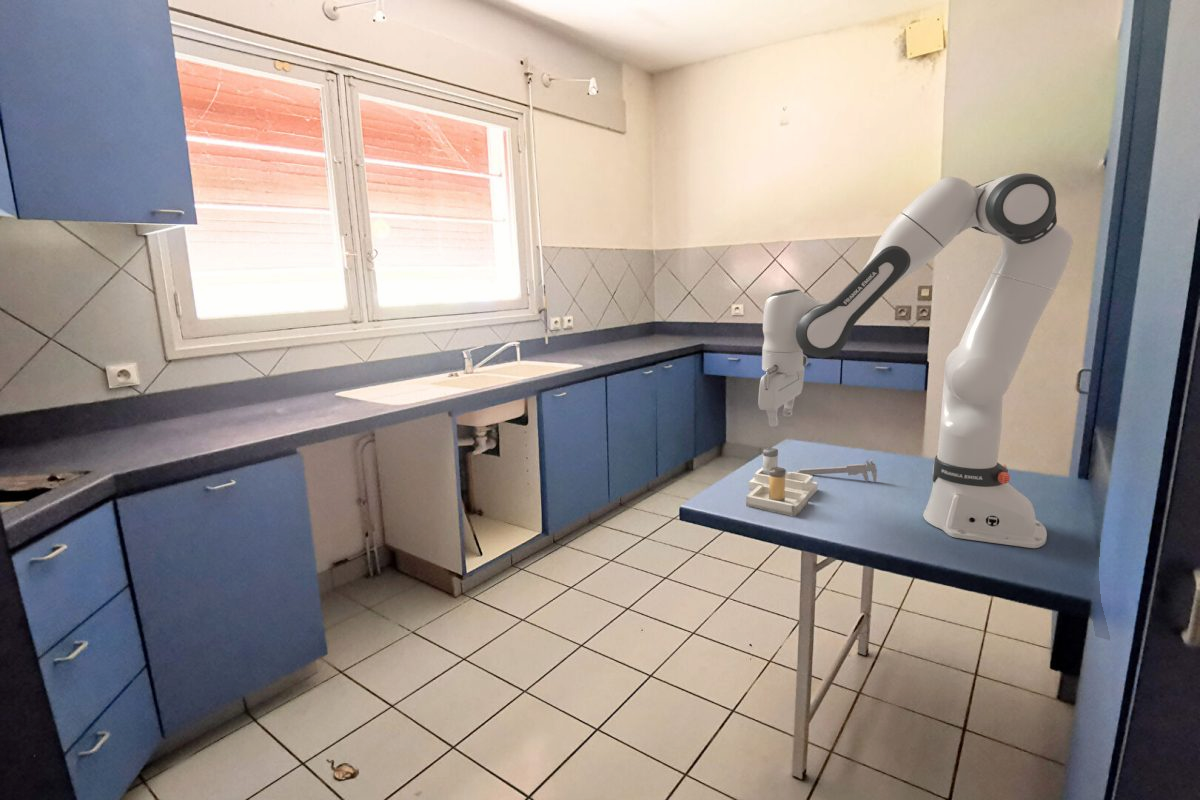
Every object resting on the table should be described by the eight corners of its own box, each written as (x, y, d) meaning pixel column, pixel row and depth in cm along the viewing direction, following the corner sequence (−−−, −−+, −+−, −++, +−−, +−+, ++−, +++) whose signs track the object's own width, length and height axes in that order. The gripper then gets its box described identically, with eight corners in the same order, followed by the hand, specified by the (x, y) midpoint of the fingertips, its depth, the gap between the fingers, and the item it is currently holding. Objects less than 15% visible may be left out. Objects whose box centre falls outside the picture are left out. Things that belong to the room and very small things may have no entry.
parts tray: (807, 503, 144) (808, 493, 144) (795, 516, 137) (796, 506, 136) (759, 493, 151) (760, 484, 150) (746, 505, 144) (746, 496, 143)
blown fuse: (786, 500, 144) (787, 468, 142) (781, 505, 141) (782, 473, 140) (771, 497, 146) (772, 466, 145) (766, 502, 144) (767, 470, 142)
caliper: (876, 482, 156) (877, 459, 155) (876, 484, 155) (877, 461, 154) (794, 473, 165) (795, 451, 163) (794, 474, 164) (794, 452, 162)
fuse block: (817, 489, 152) (819, 452, 150) (807, 500, 146) (809, 461, 143) (760, 479, 160) (761, 443, 158) (748, 488, 154) (749, 452, 152)
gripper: (780, 371, 126) (778, 433, 129) (809, 356, 142) (807, 412, 145) (751, 369, 130) (750, 430, 133) (783, 354, 146) (781, 409, 149)
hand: (780, 420), depth 139 cm, fingers open, 8 cm apart
